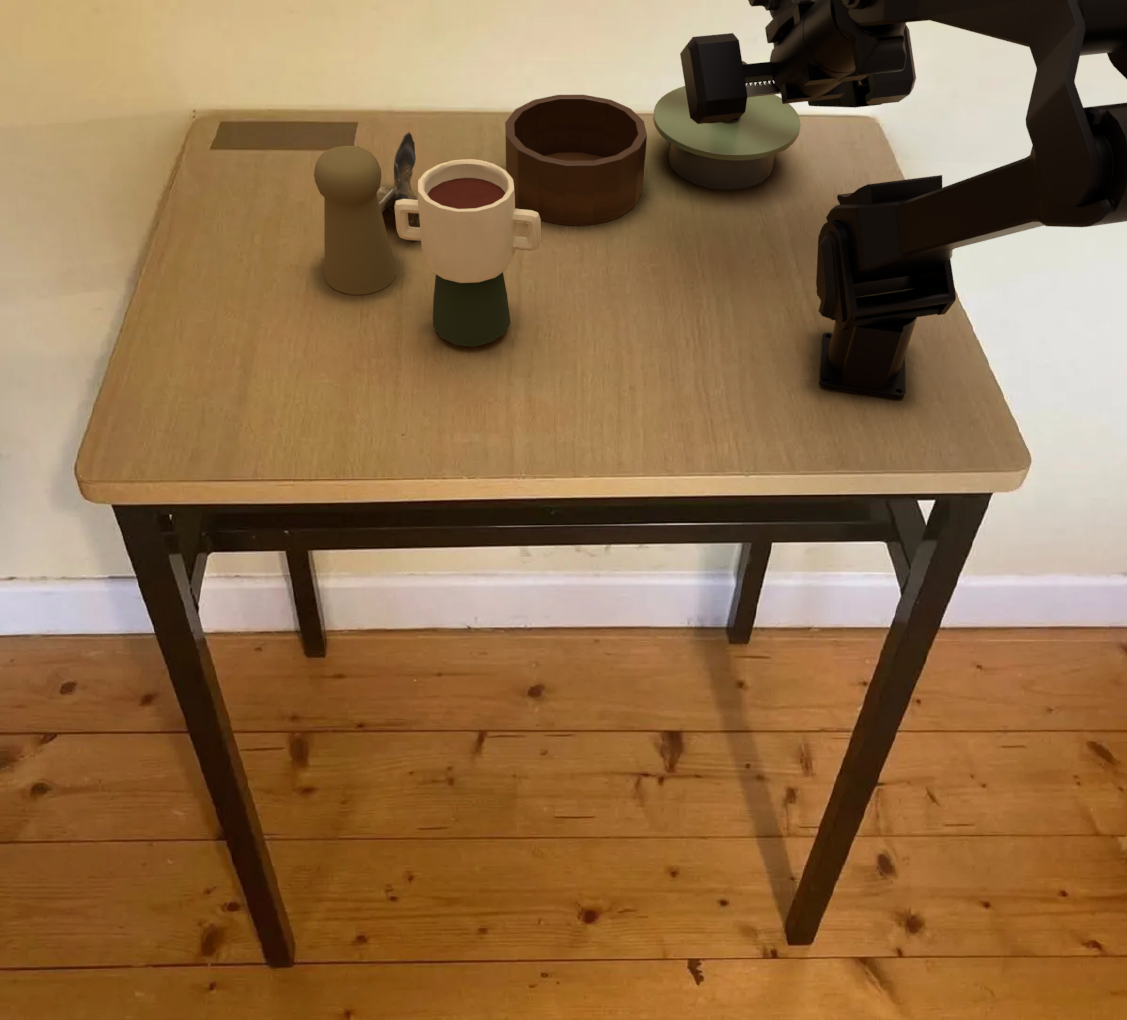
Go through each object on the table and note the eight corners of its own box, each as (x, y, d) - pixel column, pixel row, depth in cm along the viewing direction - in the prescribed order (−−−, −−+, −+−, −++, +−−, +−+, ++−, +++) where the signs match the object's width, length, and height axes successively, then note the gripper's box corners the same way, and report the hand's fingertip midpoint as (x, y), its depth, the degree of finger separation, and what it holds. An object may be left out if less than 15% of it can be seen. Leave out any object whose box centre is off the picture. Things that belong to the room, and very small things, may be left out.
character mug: (544, 307, 92) (547, 164, 83) (533, 362, 87) (534, 218, 78) (414, 295, 93) (402, 152, 83) (395, 349, 88) (380, 204, 78)
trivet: (768, 195, 105) (774, 161, 102) (662, 182, 106) (666, 148, 103) (775, 142, 111) (781, 109, 109) (676, 130, 112) (679, 97, 110)
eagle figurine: (472, 216, 99) (431, 152, 103) (433, 172, 93) (390, 106, 97) (405, 268, 100) (367, 203, 104) (362, 229, 94) (323, 161, 98)
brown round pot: (648, 224, 101) (653, 164, 96) (508, 226, 100) (507, 166, 96) (633, 152, 109) (637, 93, 105) (504, 153, 108) (503, 94, 104)
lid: (775, 180, 100) (787, 115, 95) (631, 145, 103) (636, 81, 99) (814, 112, 108) (827, 49, 104) (680, 82, 112) (687, 20, 107)
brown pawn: (402, 255, 96) (391, 138, 88) (388, 297, 92) (375, 178, 84) (334, 250, 97) (316, 132, 89) (316, 291, 93) (296, 172, 85)
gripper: (937, -86, 84) (844, 2, 99) (702, -69, 80) (643, 21, 95) (959, 64, 84) (863, 129, 99) (726, 88, 81) (664, 152, 96)
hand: (760, 105), depth 97 cm, fingers open, 9 cm apart
